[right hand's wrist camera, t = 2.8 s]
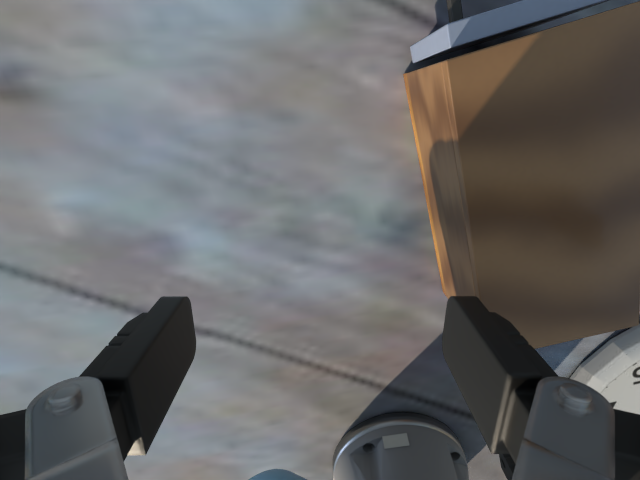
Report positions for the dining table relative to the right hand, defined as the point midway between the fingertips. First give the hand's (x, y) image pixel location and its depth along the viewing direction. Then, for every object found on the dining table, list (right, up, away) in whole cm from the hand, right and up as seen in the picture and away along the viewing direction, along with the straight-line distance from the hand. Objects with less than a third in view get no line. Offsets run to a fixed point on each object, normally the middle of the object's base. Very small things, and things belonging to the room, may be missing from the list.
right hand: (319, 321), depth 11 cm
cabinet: (+14, +8, +20) cm, 25 cm away
